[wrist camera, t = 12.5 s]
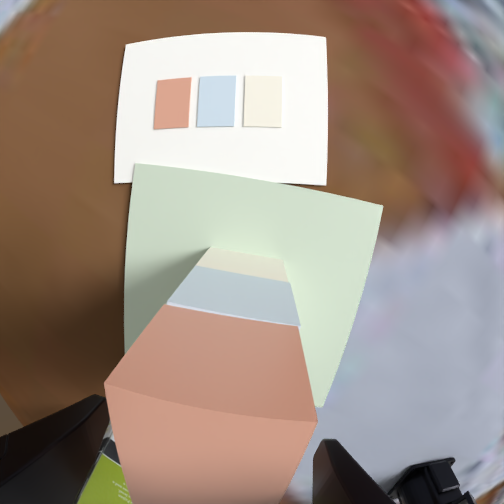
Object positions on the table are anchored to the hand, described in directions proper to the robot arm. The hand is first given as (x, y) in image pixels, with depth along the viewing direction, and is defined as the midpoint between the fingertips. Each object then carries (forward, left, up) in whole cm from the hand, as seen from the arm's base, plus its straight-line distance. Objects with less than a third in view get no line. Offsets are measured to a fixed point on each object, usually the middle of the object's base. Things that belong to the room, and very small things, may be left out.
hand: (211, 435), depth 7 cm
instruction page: (+11, +3, -10) cm, 15 cm away
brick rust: (0, 0, -2) cm, 2 cm away
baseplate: (0, 0, -10) cm, 10 cm away
